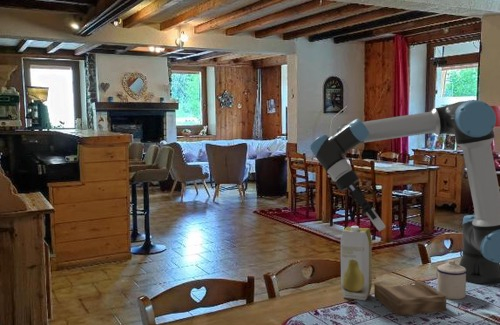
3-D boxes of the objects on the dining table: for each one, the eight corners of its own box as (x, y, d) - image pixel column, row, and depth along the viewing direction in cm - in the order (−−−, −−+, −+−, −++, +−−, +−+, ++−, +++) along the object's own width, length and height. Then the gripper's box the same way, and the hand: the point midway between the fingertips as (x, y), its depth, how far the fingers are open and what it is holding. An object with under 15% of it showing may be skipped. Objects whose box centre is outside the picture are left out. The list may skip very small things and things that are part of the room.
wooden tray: (419, 292, 166) (419, 279, 166) (446, 310, 150) (446, 296, 150) (374, 297, 163) (374, 283, 163) (397, 315, 148) (397, 301, 147)
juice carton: (339, 298, 163) (338, 226, 161) (345, 290, 170) (345, 222, 168) (368, 302, 159) (367, 228, 157) (373, 294, 166) (372, 223, 164)
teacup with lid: (472, 298, 160) (473, 262, 159) (448, 301, 158) (449, 265, 157) (448, 286, 172) (448, 253, 171) (425, 289, 169) (425, 256, 168)
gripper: (338, 186, 178) (374, 235, 172) (329, 177, 154) (370, 234, 148) (355, 174, 177) (392, 223, 171) (349, 163, 153) (391, 219, 147)
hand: (382, 228), depth 159 cm, fingers open, 13 cm apart
